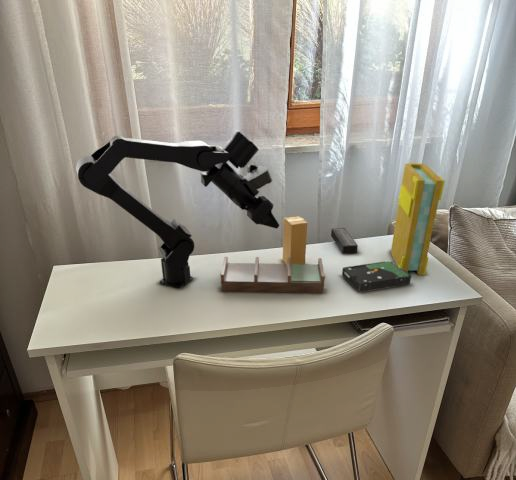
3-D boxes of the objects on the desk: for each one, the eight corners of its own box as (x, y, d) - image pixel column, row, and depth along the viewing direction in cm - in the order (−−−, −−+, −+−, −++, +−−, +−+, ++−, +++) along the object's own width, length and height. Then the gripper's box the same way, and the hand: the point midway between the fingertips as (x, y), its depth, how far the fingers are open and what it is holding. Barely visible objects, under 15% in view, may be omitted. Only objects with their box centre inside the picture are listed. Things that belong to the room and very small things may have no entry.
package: (289, 268, 137) (291, 224, 130) (282, 260, 142) (283, 217, 135) (304, 265, 139) (307, 222, 132) (296, 258, 143) (299, 215, 136)
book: (425, 274, 134) (444, 180, 120) (400, 274, 134) (416, 180, 120) (410, 249, 148) (426, 163, 134) (387, 249, 148) (401, 162, 134)
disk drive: (359, 294, 125) (410, 285, 129) (360, 284, 123) (412, 275, 127) (341, 276, 133) (389, 268, 137) (341, 267, 132) (391, 259, 135)
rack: (221, 291, 125) (220, 274, 123) (225, 273, 135) (224, 256, 132) (323, 293, 125) (324, 276, 122) (320, 274, 134) (321, 258, 131)
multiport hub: (342, 253, 146) (343, 246, 144) (330, 235, 158) (331, 228, 156) (357, 252, 146) (358, 245, 145) (344, 234, 158) (344, 227, 157)
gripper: (265, 165, 113) (307, 208, 122) (239, 148, 127) (278, 187, 137) (233, 204, 115) (277, 242, 124) (211, 182, 129) (251, 218, 139)
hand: (271, 221), depth 131 cm, fingers open, 9 cm apart
